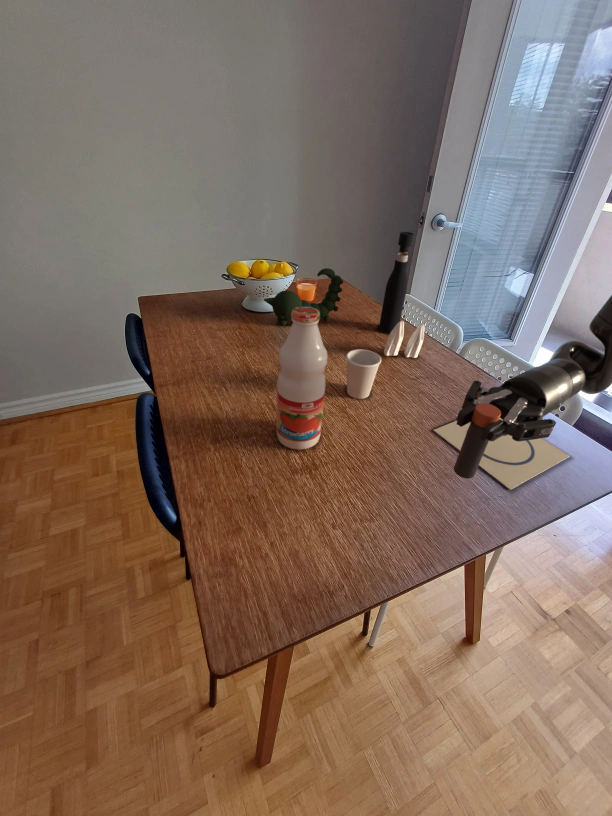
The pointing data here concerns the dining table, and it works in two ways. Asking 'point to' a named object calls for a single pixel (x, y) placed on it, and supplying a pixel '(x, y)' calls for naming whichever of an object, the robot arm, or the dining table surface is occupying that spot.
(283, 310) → the toy figurine
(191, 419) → the dining table surface
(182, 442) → the dining table surface
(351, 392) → the dixie cup
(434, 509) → the dining table surface
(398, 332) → the shaker set
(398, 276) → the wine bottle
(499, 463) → the paper
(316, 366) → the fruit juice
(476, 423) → the marker
